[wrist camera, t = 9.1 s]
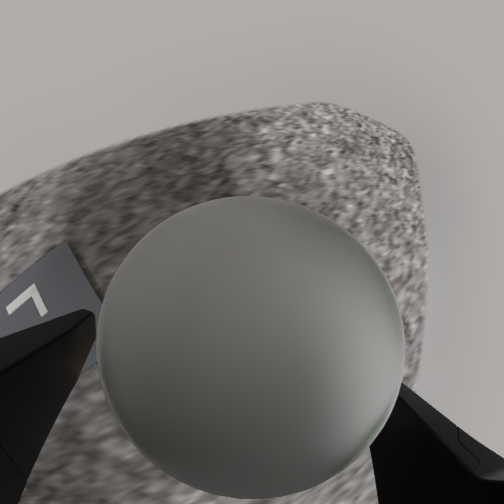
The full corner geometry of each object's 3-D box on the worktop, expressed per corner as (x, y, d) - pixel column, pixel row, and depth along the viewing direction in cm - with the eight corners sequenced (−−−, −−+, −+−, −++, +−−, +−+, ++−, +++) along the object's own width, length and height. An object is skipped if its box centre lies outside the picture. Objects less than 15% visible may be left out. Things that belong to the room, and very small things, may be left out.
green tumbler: (201, 429, 14) (199, 542, 3) (155, 342, 15) (58, 263, 4) (287, 384, 16) (442, 381, 5) (241, 302, 17) (310, 164, 6)
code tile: (21, 419, 12) (18, 420, 11) (-24, 319, 13) (-27, 318, 13) (126, 339, 16) (125, 338, 15) (67, 241, 17) (65, 238, 17)
